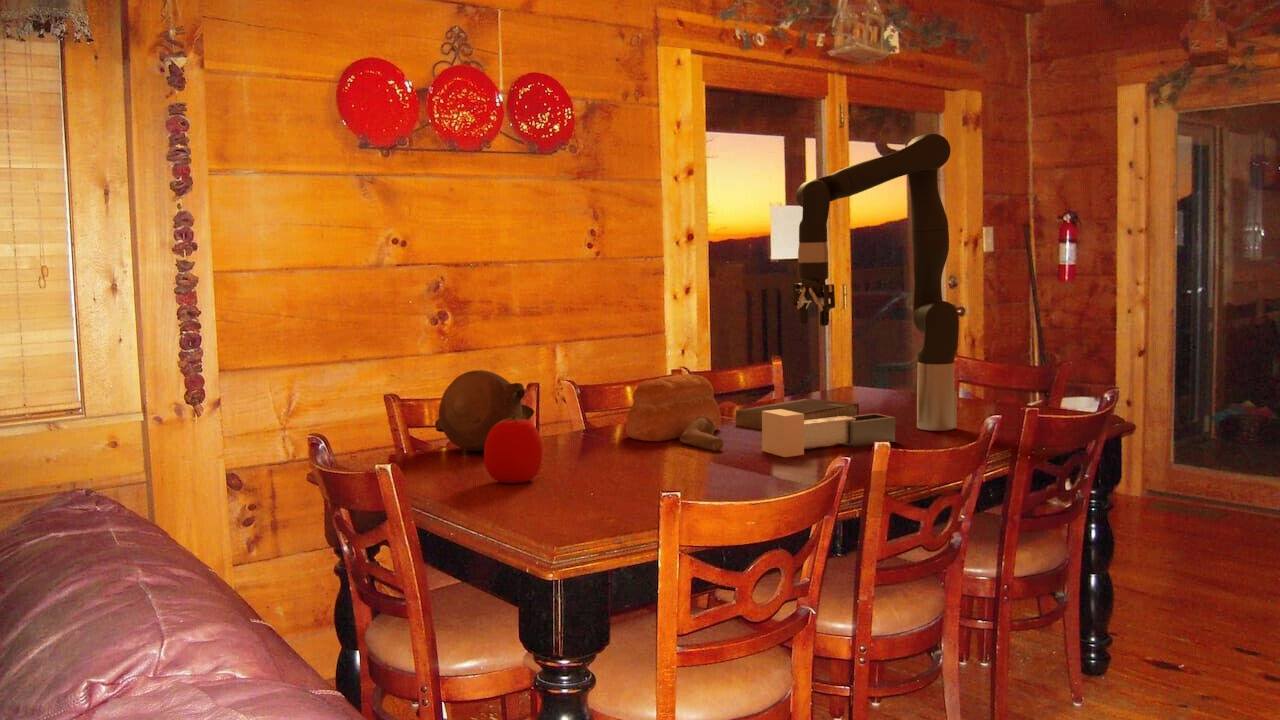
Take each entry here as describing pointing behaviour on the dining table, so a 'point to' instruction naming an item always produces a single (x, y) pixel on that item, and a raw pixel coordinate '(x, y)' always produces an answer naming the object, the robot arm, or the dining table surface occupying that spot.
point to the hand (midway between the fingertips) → (813, 324)
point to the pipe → (702, 435)
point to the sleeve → (871, 429)
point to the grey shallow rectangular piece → (798, 411)
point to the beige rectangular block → (827, 431)
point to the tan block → (783, 432)
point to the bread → (670, 407)
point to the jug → (478, 407)
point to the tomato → (513, 451)
